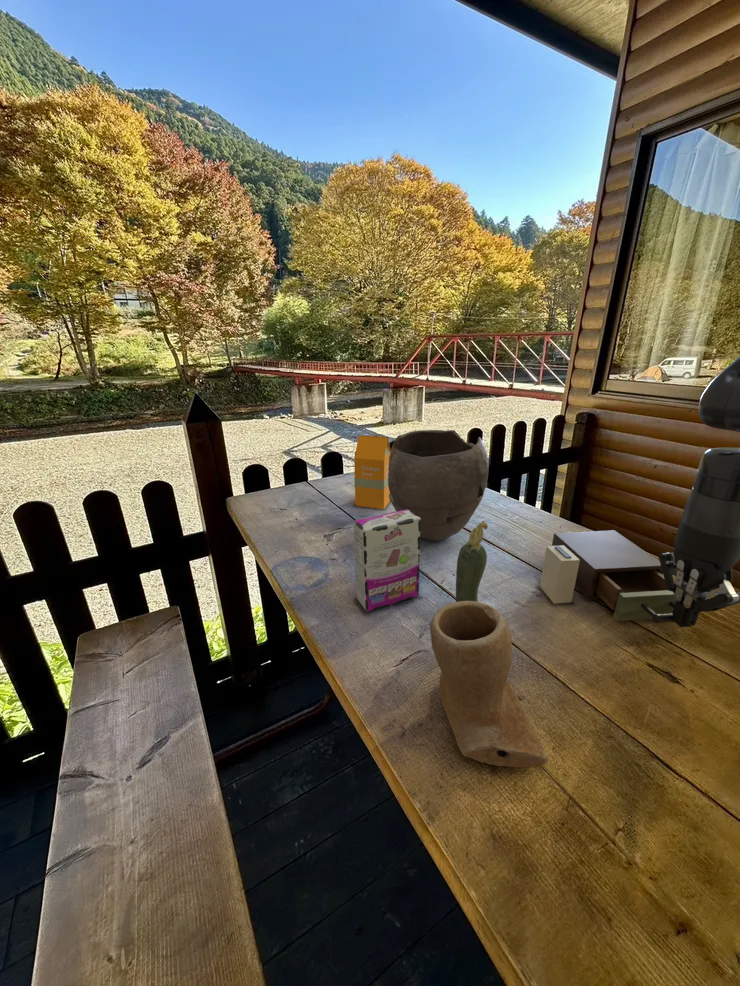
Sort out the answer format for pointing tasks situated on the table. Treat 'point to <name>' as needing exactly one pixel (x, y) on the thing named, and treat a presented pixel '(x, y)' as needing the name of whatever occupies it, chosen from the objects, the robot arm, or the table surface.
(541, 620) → the table surface
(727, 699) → the table surface
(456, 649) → the clay boot vessel
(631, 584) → the drawer
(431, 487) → the clay pot
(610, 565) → the cabinet
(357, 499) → the orange juice
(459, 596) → the vegetable
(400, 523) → the candy bar box
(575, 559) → the slotted beige box
